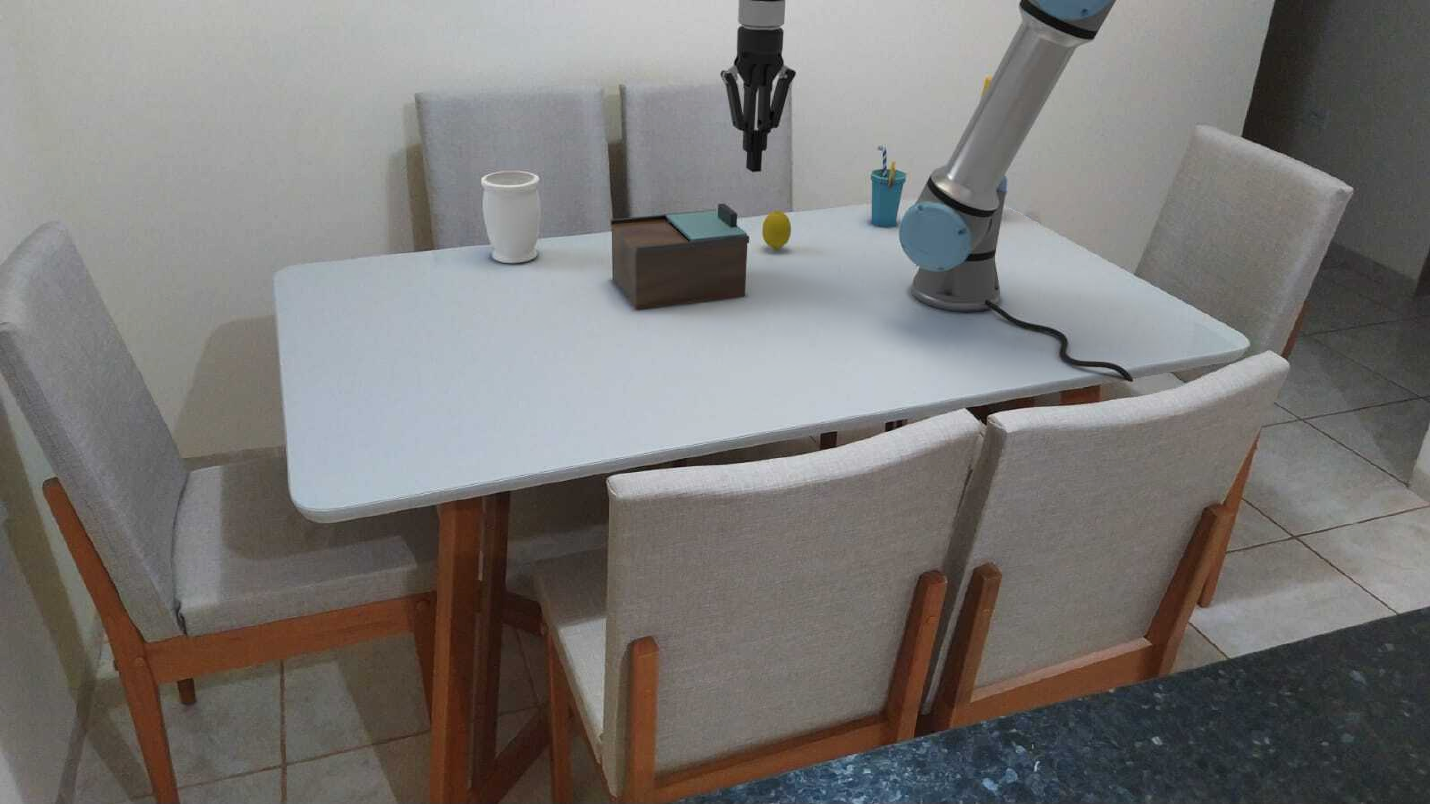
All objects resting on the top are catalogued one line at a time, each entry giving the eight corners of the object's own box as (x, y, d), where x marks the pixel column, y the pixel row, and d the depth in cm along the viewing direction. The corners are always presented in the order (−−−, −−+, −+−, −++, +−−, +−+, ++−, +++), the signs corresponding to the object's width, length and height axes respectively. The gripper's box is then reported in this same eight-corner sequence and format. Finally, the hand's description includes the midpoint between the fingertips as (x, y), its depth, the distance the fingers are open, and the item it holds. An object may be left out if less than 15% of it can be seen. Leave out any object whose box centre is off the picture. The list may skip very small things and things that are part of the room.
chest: (746, 297, 183) (749, 236, 178) (637, 311, 176) (637, 248, 171) (714, 267, 196) (716, 209, 190) (611, 279, 189) (610, 219, 183)
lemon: (774, 256, 202) (777, 216, 198) (755, 248, 205) (757, 209, 202) (795, 251, 205) (798, 211, 201) (776, 243, 208) (778, 204, 205)
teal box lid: (747, 236, 179) (747, 219, 177) (692, 242, 176) (692, 225, 174) (718, 213, 190) (718, 197, 188) (666, 218, 186) (666, 201, 185)
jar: (512, 243, 204) (507, 167, 197) (554, 253, 199) (550, 176, 192) (474, 258, 196) (468, 180, 188) (517, 270, 191) (512, 190, 184)
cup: (855, 212, 228) (861, 143, 220) (889, 211, 229) (896, 142, 222) (874, 233, 215) (882, 161, 208) (910, 232, 217) (919, 160, 210)
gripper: (787, 21, 175) (779, 161, 186) (714, 23, 171) (710, 166, 182) (807, 28, 169) (797, 172, 180) (732, 31, 165) (726, 178, 176)
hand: (753, 169), depth 181 cm, fingers closed
